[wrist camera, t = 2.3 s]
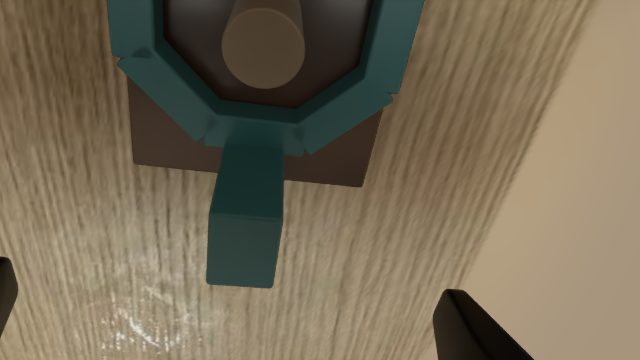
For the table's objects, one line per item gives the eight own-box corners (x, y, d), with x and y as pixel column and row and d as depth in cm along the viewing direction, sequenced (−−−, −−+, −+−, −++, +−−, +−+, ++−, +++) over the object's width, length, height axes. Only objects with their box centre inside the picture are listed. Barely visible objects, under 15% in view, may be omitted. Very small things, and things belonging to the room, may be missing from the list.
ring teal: (105, -204, 9) (-4, -247, 5) (448, -132, 10) (530, -131, 6) (133, 179, 14) (85, 277, 10) (359, 201, 15) (380, 297, 11)
